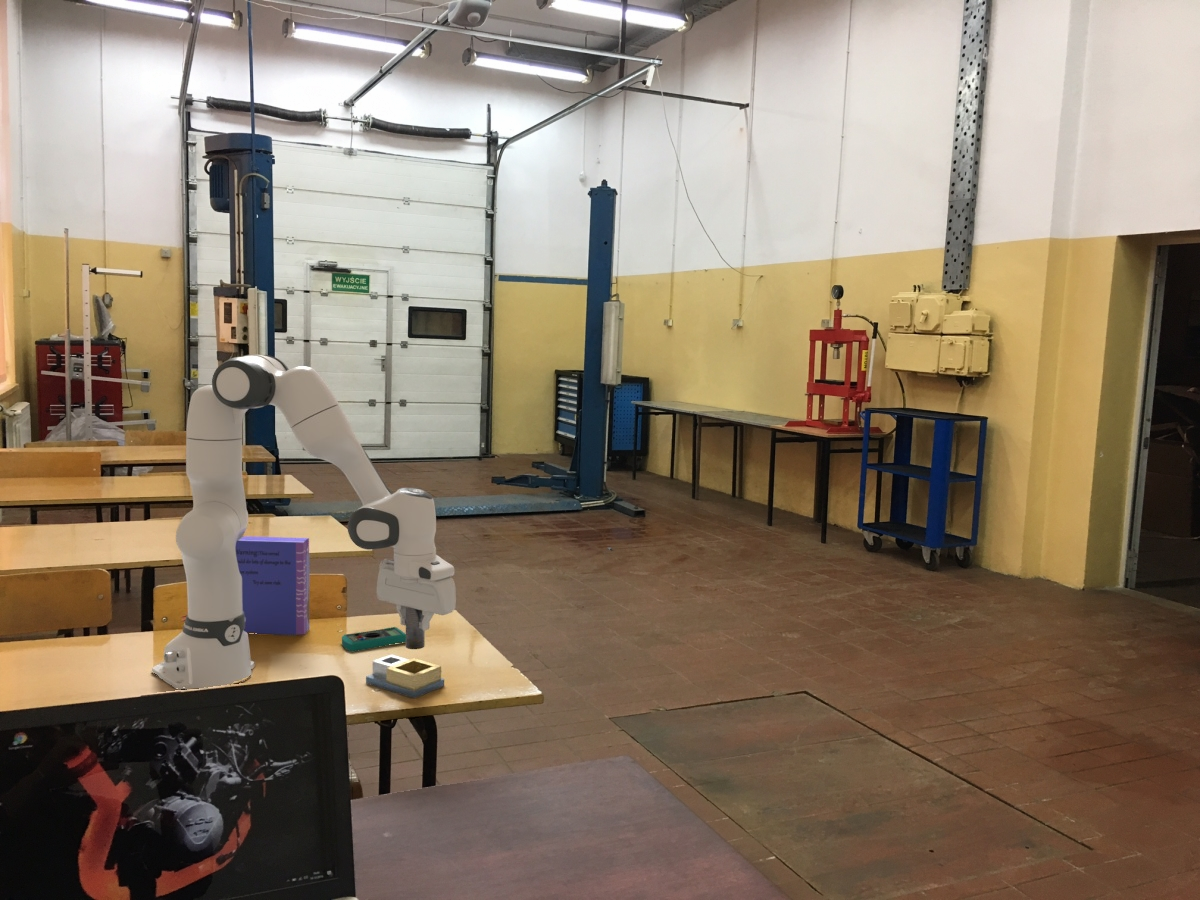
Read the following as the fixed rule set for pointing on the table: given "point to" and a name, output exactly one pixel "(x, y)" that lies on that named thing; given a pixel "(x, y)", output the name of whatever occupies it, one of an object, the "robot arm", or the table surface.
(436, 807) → the table surface
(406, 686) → the desk organizer
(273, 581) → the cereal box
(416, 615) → the cylinder
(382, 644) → the digital multimeter
